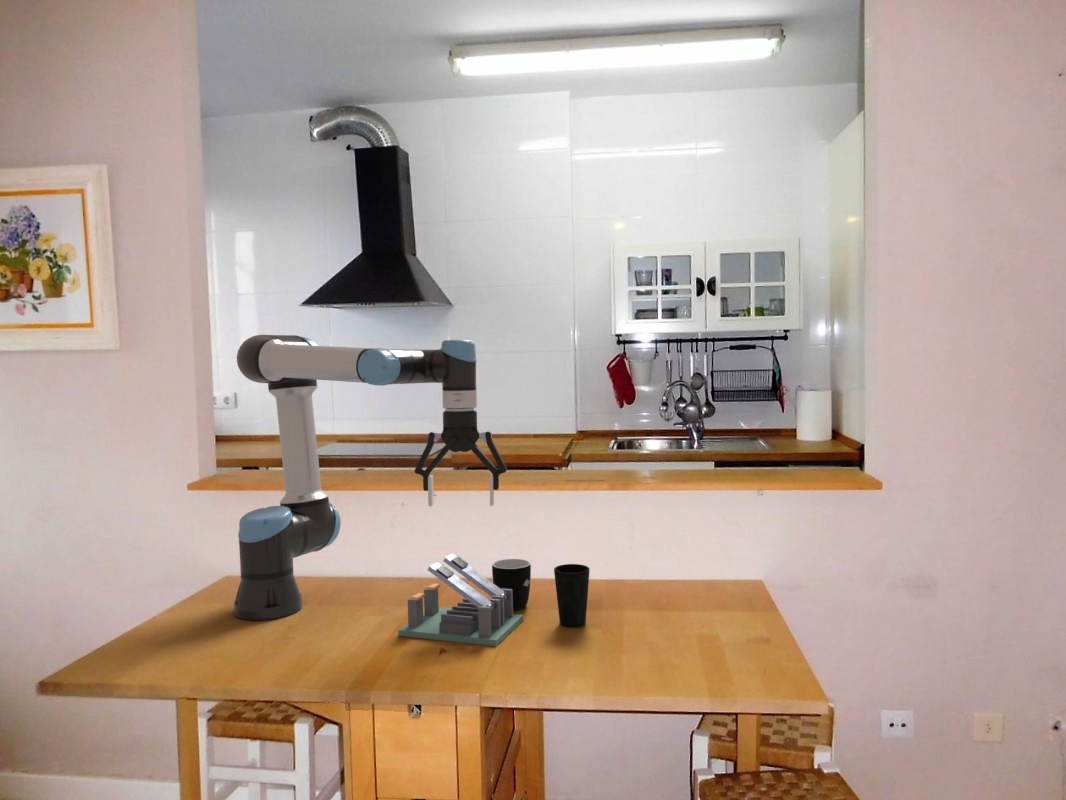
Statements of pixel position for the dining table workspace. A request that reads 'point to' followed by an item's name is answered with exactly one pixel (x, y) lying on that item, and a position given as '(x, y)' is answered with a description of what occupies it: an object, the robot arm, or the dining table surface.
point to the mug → (513, 579)
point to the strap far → (474, 576)
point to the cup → (572, 594)
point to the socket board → (460, 619)
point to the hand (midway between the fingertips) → (461, 505)
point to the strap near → (460, 586)
